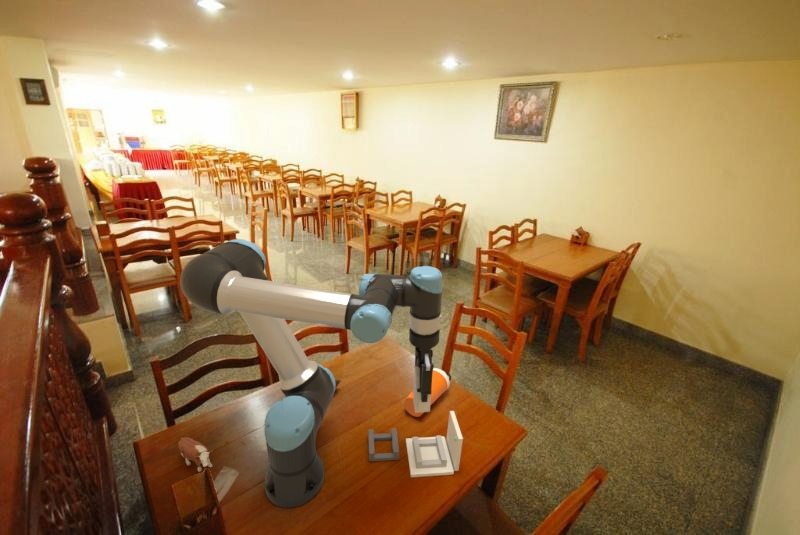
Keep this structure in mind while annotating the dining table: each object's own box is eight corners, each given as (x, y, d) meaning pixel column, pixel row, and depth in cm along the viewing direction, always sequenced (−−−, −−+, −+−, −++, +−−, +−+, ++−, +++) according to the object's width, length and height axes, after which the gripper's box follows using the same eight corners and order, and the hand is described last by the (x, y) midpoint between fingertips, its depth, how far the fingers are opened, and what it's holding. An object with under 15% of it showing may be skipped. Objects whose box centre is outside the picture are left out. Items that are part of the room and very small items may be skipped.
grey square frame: (369, 461, 100) (369, 453, 99) (368, 436, 108) (368, 429, 107) (398, 459, 101) (399, 451, 100) (396, 435, 109) (396, 428, 108)
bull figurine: (206, 484, 92) (200, 462, 89) (178, 459, 98) (172, 437, 95) (221, 471, 95) (217, 449, 92) (193, 448, 102) (188, 426, 99)
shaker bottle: (424, 400, 110) (453, 368, 126) (400, 391, 115) (431, 361, 131) (425, 423, 113) (453, 389, 128) (402, 413, 118) (432, 381, 133)
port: (410, 477, 96) (413, 444, 91) (405, 441, 107) (407, 410, 103) (459, 474, 97) (463, 441, 93) (449, 438, 108) (453, 408, 104)
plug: (415, 412, 94) (416, 369, 89) (413, 402, 98) (414, 360, 93) (429, 411, 94) (432, 368, 89) (427, 401, 98) (429, 359, 93)
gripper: (447, 346, 79) (441, 425, 88) (432, 310, 95) (429, 380, 104) (414, 348, 79) (412, 428, 87) (405, 311, 94) (404, 382, 103)
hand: (421, 402), depth 96 cm, fingers closed on plug, 4 cm apart
